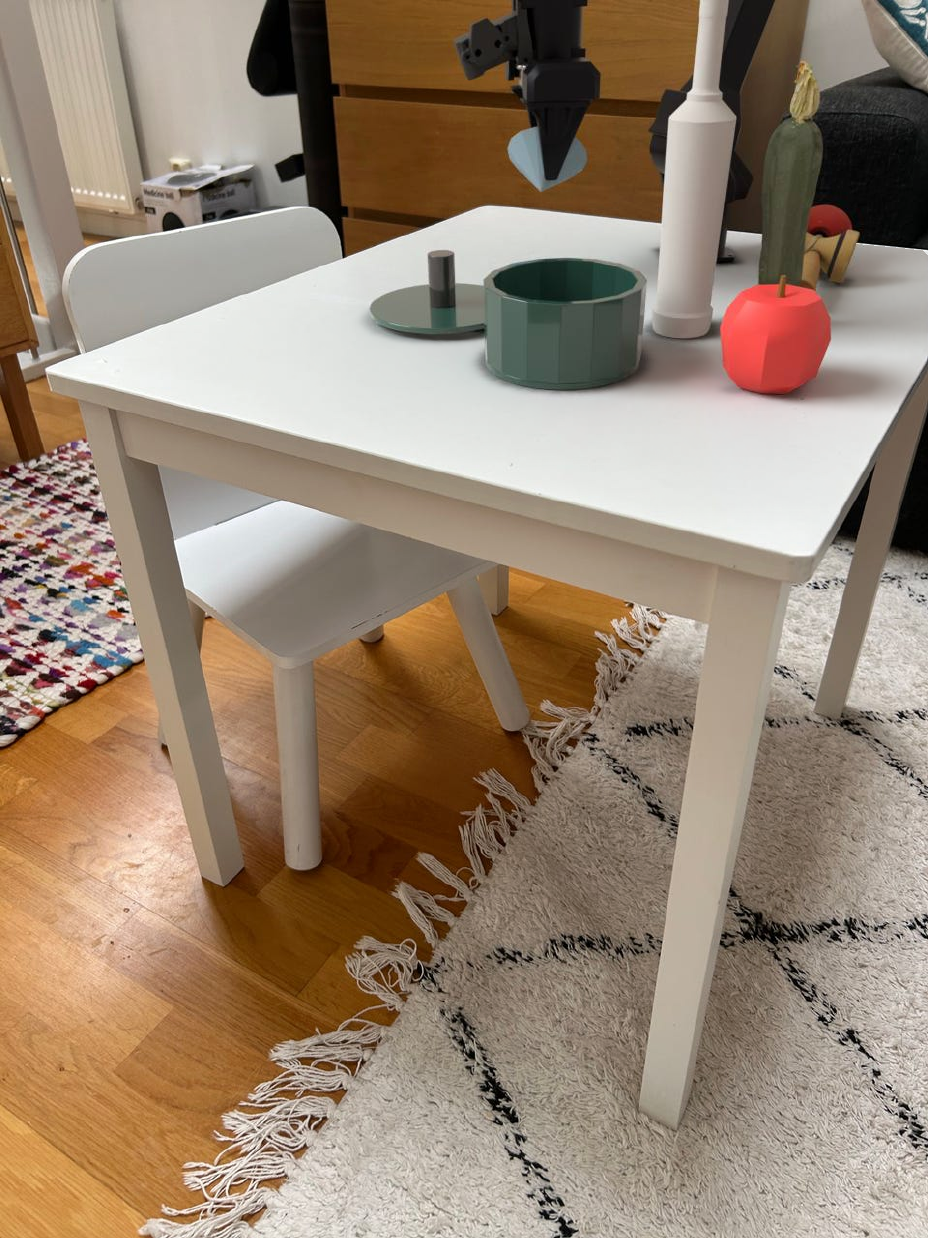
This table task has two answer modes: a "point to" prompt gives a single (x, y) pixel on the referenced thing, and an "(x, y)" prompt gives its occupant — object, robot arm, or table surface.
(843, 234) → the kendama
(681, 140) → the bottle
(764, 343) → the apple
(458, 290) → the lid
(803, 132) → the vegetable
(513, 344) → the pot
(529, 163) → the gemstone
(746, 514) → the table surface
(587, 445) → the table surface
